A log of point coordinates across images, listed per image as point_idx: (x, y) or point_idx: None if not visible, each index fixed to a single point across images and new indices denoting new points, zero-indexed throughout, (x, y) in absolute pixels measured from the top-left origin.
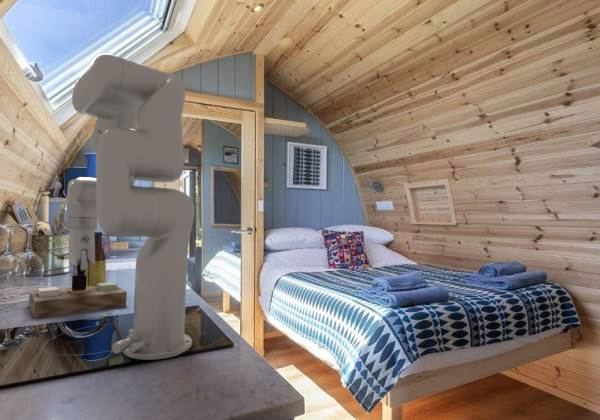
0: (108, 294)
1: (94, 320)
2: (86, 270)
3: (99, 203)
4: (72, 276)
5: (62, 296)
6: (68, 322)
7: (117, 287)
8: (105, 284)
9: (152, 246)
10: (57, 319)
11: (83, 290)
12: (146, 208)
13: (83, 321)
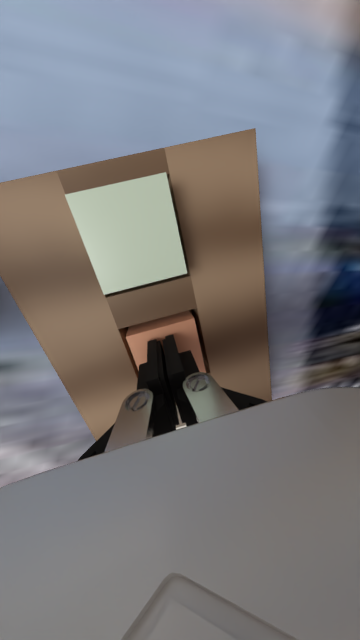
0: (260, 233)
1: (341, 275)
2: (227, 396)
3: None
4: (174, 429)
5: (236, 386)
6: (323, 330)
7: (100, 173)
8: (153, 247)
9: None
10: (285, 355)
11: (190, 339)
12: None
13: (334, 300)
